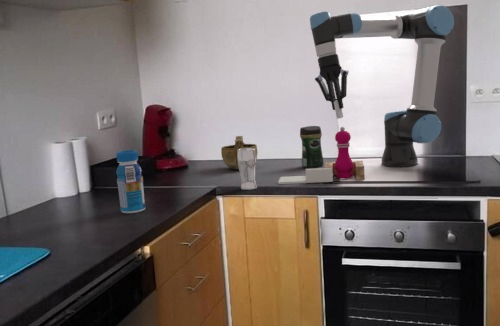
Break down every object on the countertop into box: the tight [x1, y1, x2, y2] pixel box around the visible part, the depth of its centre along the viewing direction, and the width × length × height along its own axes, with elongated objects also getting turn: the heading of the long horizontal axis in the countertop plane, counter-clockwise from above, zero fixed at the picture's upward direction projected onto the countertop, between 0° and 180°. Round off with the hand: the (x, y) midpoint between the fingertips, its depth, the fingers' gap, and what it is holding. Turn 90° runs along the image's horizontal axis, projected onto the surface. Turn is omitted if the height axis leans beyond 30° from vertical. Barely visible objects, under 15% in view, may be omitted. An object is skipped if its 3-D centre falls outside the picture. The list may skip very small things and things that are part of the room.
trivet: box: [277, 175, 307, 185], centre depth 195 cm, size 11×11×1 cm
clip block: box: [324, 160, 366, 181], centre depth 196 cm, size 15×14×5 cm
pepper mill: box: [334, 126, 353, 179], centre depth 194 cm, size 7×7×20 cm
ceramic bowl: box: [220, 135, 258, 171], centre depth 232 cm, size 22×17×15 cm
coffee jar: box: [299, 125, 325, 169], centre depth 224 cm, size 10×8×19 cm
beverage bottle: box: [115, 149, 146, 214], centre depth 163 cm, size 8×8×20 cm
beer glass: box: [238, 148, 258, 191], centre depth 186 cm, size 7×7×15 cm
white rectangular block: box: [305, 167, 334, 184], centre depth 188 cm, size 10×2×5 cm, turn 80°
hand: (340, 117), depth 185 cm, fingers closed
